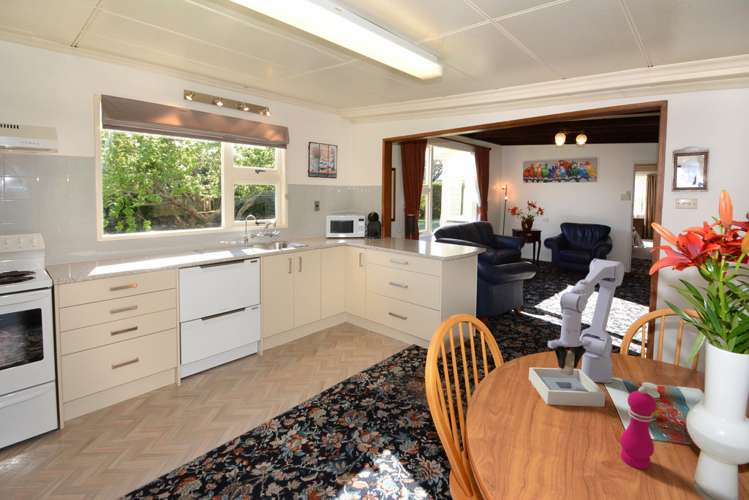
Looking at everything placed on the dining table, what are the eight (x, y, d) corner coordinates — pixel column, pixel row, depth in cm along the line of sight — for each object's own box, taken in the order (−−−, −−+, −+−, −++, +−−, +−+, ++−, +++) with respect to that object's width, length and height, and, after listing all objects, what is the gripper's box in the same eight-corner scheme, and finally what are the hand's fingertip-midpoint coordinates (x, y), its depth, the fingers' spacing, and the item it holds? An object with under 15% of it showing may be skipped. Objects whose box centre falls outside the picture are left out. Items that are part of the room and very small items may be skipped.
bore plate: (575, 383, 144) (575, 378, 144) (591, 400, 132) (592, 395, 132) (541, 382, 144) (541, 377, 144) (554, 399, 132) (554, 393, 132)
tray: (578, 380, 148) (579, 369, 147) (604, 406, 130) (605, 393, 129) (528, 379, 148) (529, 367, 148) (547, 404, 131) (548, 391, 130)
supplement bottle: (651, 423, 121) (655, 391, 119) (631, 414, 125) (635, 383, 124) (660, 418, 124) (664, 386, 122) (640, 409, 128) (643, 379, 127)
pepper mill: (621, 448, 108) (628, 377, 106) (653, 460, 104) (662, 386, 101) (616, 461, 103) (624, 387, 100) (650, 474, 98) (659, 397, 96)
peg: (568, 370, 140) (569, 350, 139) (575, 375, 136) (577, 354, 135) (557, 370, 139) (559, 351, 138) (565, 375, 135) (566, 355, 134)
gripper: (583, 323, 140) (579, 361, 142) (544, 325, 138) (541, 363, 140) (596, 330, 133) (593, 370, 135) (556, 332, 131) (552, 372, 133)
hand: (567, 367), depth 137 cm, fingers closed on peg, 4 cm apart
